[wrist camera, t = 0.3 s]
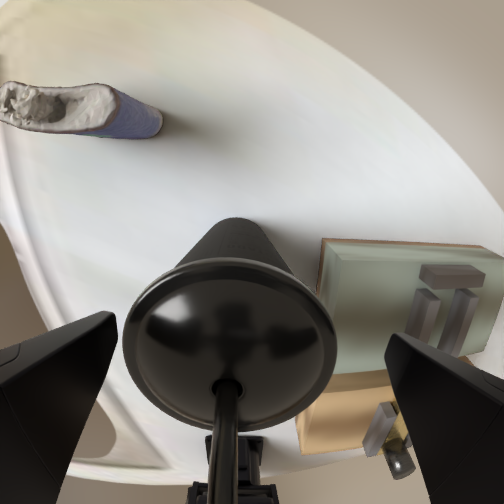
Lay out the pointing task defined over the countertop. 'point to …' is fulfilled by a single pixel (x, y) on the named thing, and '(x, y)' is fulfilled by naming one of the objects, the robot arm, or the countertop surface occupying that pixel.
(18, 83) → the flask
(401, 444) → the bolt
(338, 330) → the frame
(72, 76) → the countertop surface
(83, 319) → the robot arm
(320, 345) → the drinking cup
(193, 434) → the countertop surface
